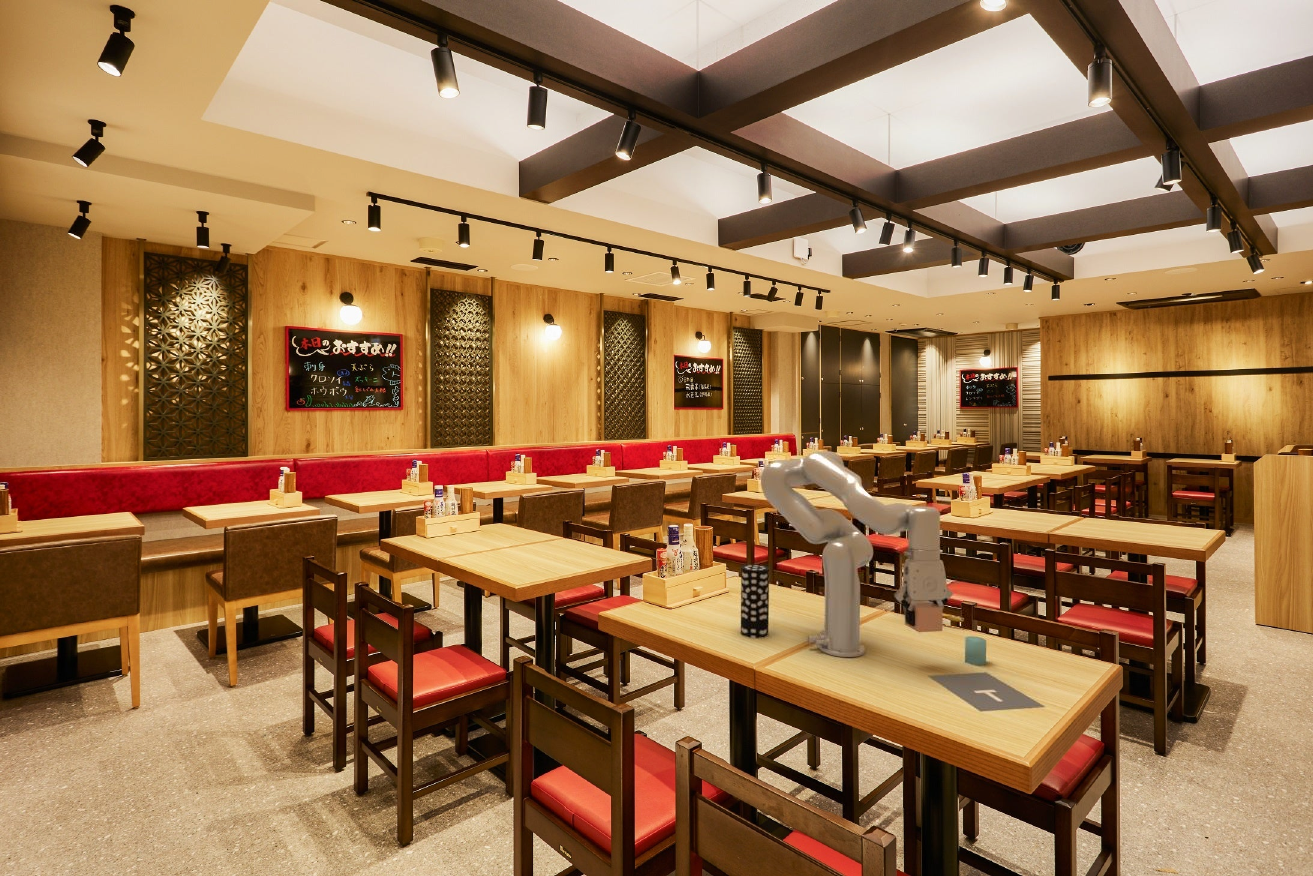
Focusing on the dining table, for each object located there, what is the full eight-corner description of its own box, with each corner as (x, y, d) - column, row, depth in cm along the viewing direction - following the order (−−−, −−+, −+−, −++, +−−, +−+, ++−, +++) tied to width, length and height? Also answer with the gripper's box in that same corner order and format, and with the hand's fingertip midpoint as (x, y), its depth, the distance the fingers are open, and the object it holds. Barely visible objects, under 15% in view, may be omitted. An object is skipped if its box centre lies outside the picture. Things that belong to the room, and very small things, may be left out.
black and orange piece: (906, 598, 219) (961, 589, 209) (912, 631, 213) (969, 624, 203) (896, 593, 212) (952, 583, 202) (902, 627, 207) (961, 619, 197)
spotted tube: (739, 636, 192) (739, 569, 191) (742, 628, 200) (742, 564, 199) (767, 639, 190) (768, 571, 189) (769, 630, 198) (770, 565, 197)
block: (918, 632, 163) (918, 608, 162) (904, 624, 169) (905, 601, 169) (942, 631, 164) (942, 607, 163) (927, 623, 170) (927, 600, 170)
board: (980, 715, 141) (980, 711, 141) (927, 679, 160) (927, 675, 160) (1045, 711, 143) (1045, 706, 143) (985, 676, 163) (986, 672, 163)
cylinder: (972, 669, 167) (973, 643, 167) (960, 662, 172) (961, 636, 172) (990, 668, 168) (990, 642, 168) (977, 661, 173) (978, 635, 173)
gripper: (900, 558, 161) (899, 630, 161) (963, 556, 164) (963, 626, 164) (885, 553, 168) (884, 621, 169) (945, 551, 171) (945, 618, 171)
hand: (923, 623), depth 166 cm, fingers closed on block, 6 cm apart
